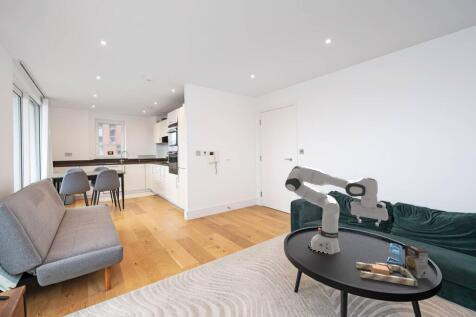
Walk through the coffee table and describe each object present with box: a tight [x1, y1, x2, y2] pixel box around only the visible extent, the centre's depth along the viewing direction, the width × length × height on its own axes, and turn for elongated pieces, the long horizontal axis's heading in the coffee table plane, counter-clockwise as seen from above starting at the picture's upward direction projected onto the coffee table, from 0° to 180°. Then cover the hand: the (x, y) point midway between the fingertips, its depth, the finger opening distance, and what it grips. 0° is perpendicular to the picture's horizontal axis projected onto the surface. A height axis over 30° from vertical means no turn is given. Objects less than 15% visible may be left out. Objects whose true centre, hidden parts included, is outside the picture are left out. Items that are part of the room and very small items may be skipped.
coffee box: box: [403, 244, 429, 279], centre depth 126 cm, size 9×6×16 cm
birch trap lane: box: [355, 261, 418, 287], centre depth 126 cm, size 27×16×3 cm, turn 72°
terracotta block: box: [370, 263, 390, 275], centre depth 125 cm, size 8×5×5 cm, turn 70°
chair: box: [386, 242, 404, 266], centre depth 139 cm, size 8×8×12 cm
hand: (368, 224), depth 133 cm, fingers open, 8 cm apart
